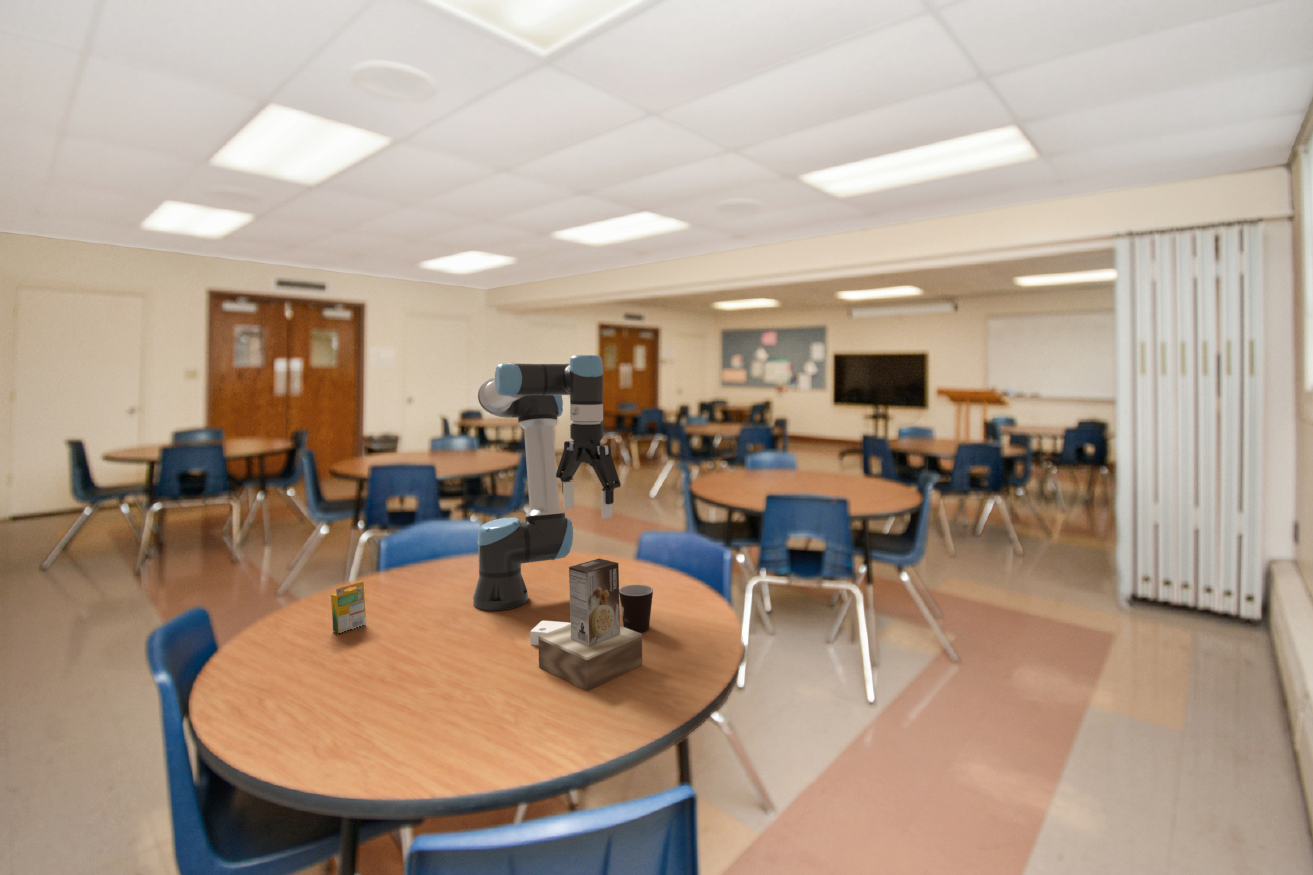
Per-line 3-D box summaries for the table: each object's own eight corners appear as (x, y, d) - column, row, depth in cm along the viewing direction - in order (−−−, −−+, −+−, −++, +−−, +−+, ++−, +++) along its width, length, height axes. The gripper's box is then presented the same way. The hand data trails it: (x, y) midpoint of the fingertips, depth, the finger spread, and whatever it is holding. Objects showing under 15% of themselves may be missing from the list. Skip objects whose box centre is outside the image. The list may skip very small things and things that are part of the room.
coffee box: (601, 626, 140) (600, 557, 139) (620, 634, 136) (620, 562, 135) (569, 639, 133) (568, 566, 132) (589, 647, 129) (588, 572, 128)
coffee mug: (649, 636, 152) (649, 596, 151) (615, 633, 154) (615, 594, 153) (658, 619, 163) (658, 582, 162) (627, 616, 165) (626, 580, 164)
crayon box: (360, 622, 162) (358, 579, 161) (366, 625, 160) (364, 581, 159) (332, 631, 156) (330, 586, 155) (338, 634, 154) (336, 589, 153)
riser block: (538, 667, 136) (538, 636, 135) (593, 644, 147) (593, 615, 147) (587, 690, 125) (586, 657, 124) (642, 664, 137) (641, 633, 136)
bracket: (591, 638, 152) (591, 608, 151) (582, 650, 145) (581, 619, 144) (542, 634, 155) (541, 604, 154) (530, 645, 148) (529, 614, 147)
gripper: (540, 420, 149) (541, 506, 151) (611, 427, 132) (611, 524, 134) (565, 418, 154) (566, 502, 156) (636, 425, 137) (636, 519, 139)
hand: (587, 512), depth 145 cm, fingers open, 13 cm apart
